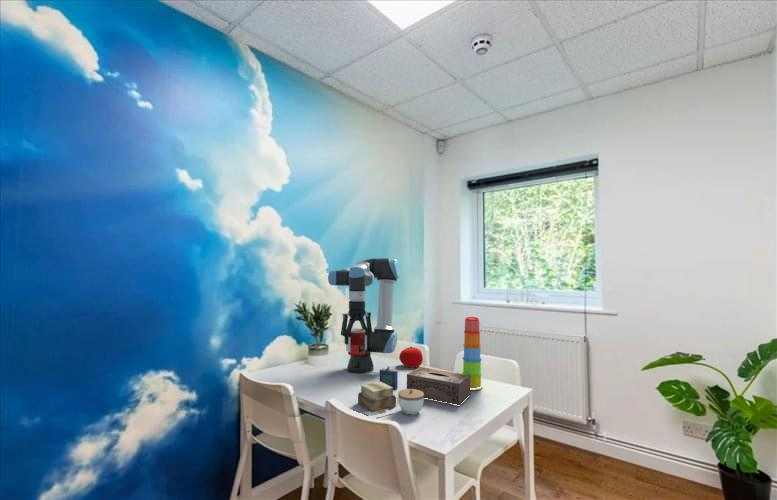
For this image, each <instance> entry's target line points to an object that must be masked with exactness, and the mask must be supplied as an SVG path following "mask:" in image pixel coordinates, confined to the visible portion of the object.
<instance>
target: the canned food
mask: <svg viewBox="0 0 777 500" xmlns="http://www.w3.org/2000/svg"><path fill="white" fill-rule="evenodd" d="M349 337H350V352H348V351H347V353H348V355H349V356H351V355H352V356H361V355H364V354H365V330H364V329H361V328H352V329H351V332H350V335H349Z"/></svg>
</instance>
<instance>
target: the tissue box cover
mask: <svg viewBox="0 0 777 500" xmlns="http://www.w3.org/2000/svg"><path fill="white" fill-rule="evenodd" d="M406 389H416V390H420V391H422V392H423V393H424V398H428V399H433V400H437V401H442V402H447V403H452V404H457V405H460V404H461V403H462V402H463V401H464V400H465V399H466V398H467V397H468V396H469V395H470V396H471V390H470V375H466V374H463V373H459V372H454V371H453V372H452V371H447V370H442V369H436V368H429V367H424V366H423V367H422V366H420V367H419V366H418V367H416V369H414V370H411V371H410V372H408V373H407V374H406Z"/></svg>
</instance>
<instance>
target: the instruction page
mask: <svg viewBox="0 0 777 500" xmlns="http://www.w3.org/2000/svg"><path fill="white" fill-rule="evenodd" d="M364 413H365V415H366V414H367V415H370V416H374V417H379V418H382V417H386V415H387V416H390V415H389V414H391V415H394V414H395V413H394V412H393V411H391V410H390V409H383V410H379V411H375V412H371V411H369V410H368V411H366V412H364ZM367 415H366V416H367Z"/></svg>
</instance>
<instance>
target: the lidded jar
mask: <svg viewBox="0 0 777 500" xmlns="http://www.w3.org/2000/svg"><path fill="white" fill-rule="evenodd" d="M397 395H398V398H397V399H398V405H399V408H400V409H401V411H402V412H403V414H405V413H406V414H405V415H407V414H416V415H418V414H419V413H420V411H421V410H422V408H423V406H424V400H425V399H424V393H423V392H422V391H420V390H416V389H407V388H405V389H402V390H399V391H398V393H397ZM417 413H418V414H417Z"/></svg>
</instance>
